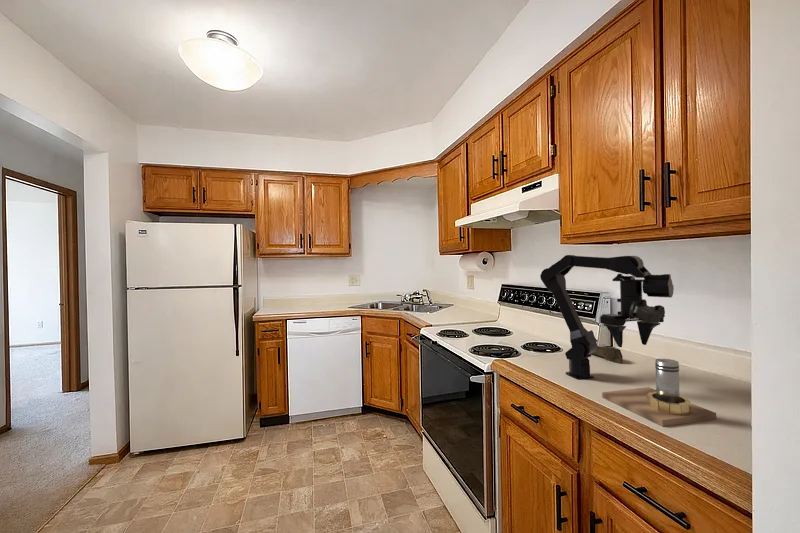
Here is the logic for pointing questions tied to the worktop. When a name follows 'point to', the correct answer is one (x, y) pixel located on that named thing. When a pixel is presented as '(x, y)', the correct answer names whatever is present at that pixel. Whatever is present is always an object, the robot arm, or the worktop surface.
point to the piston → (667, 380)
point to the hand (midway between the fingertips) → (632, 345)
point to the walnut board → (638, 404)
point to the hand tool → (609, 354)
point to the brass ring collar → (669, 405)
